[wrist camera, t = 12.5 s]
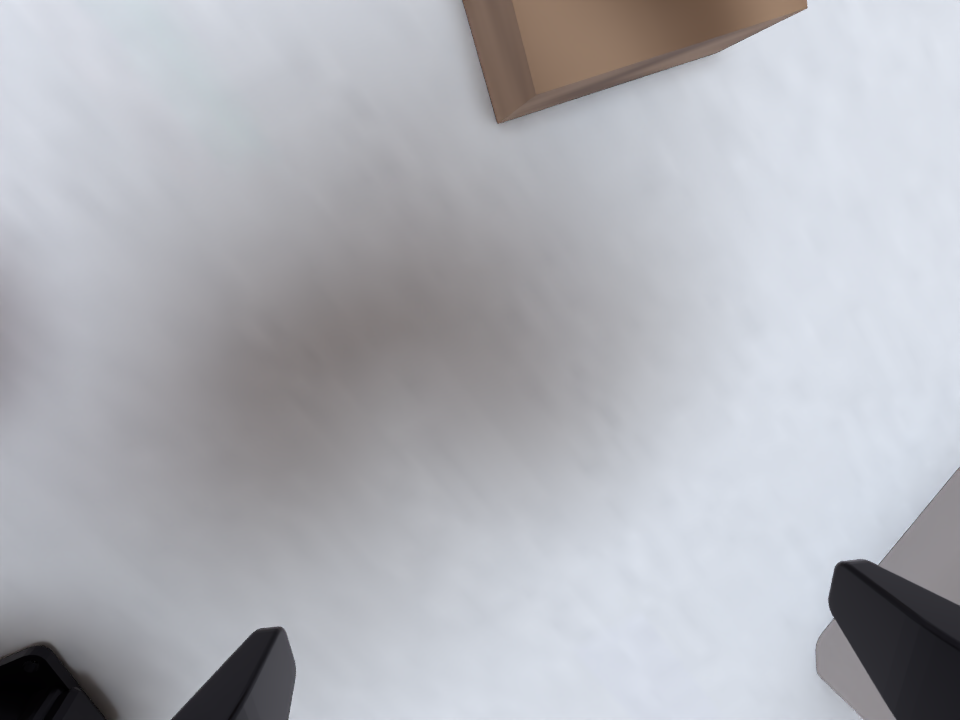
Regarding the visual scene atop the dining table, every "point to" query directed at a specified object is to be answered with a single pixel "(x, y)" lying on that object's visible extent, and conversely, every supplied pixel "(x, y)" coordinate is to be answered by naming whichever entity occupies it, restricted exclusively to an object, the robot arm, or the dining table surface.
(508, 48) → the walnut block
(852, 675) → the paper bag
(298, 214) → the dining table surface
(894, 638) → the robot arm
